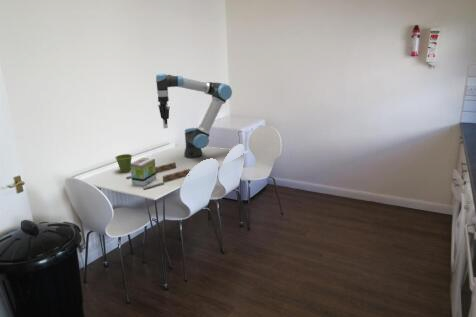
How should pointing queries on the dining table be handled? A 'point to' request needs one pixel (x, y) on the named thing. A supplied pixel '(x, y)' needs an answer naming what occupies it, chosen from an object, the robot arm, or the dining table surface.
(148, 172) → the tea box
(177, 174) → the walnut chute
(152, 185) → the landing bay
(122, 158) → the plant pot
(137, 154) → the dining table surface
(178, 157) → the dining table surface
